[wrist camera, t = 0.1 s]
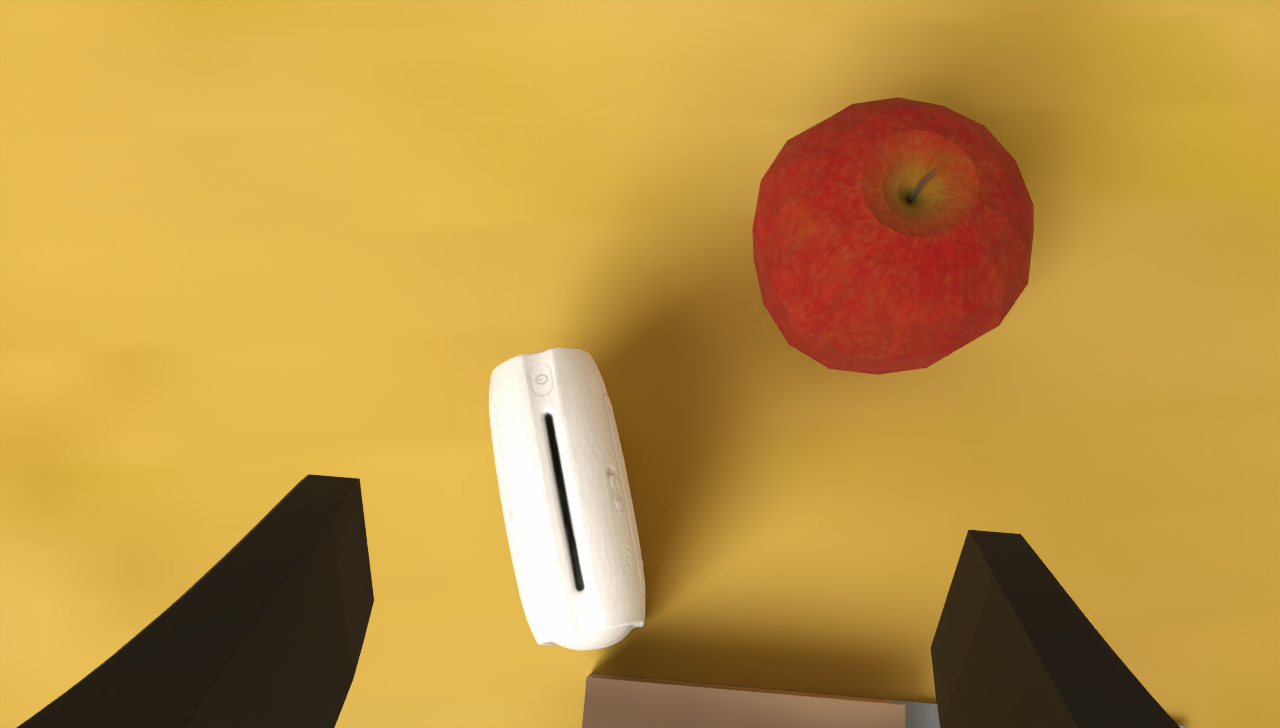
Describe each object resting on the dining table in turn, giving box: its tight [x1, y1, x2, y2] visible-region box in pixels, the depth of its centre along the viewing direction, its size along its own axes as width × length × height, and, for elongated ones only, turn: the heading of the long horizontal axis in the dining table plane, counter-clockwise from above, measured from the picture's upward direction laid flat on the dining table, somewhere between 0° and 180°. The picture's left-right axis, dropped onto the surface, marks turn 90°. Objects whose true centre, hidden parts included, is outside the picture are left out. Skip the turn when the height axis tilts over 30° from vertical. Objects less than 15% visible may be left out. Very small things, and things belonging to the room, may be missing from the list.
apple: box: [753, 98, 1033, 374], centre depth 40 cm, size 10×10×14 cm
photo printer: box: [489, 348, 646, 650], centre depth 38 cm, size 10×4×12 cm, turn 11°
